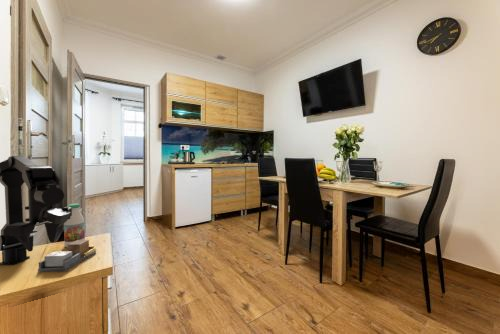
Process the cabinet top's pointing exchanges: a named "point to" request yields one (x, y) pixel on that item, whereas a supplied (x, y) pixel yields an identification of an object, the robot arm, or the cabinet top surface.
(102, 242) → the cabinet top surface
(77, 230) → the milk bottle
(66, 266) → the grey tray
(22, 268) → the cabinet top surface
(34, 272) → the cabinet top surface
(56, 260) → the light grey block
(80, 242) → the housing
